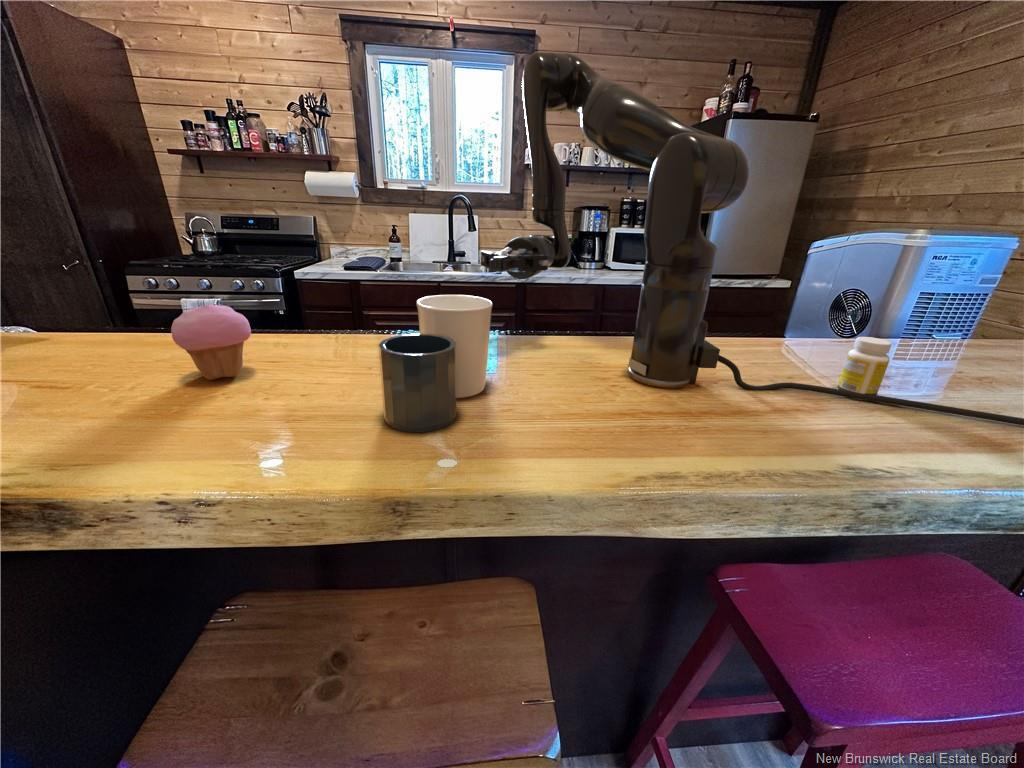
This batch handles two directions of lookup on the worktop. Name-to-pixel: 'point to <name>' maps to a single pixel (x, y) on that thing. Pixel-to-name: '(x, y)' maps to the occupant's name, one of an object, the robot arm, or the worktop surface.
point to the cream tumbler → (461, 334)
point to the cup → (418, 381)
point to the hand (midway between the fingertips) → (496, 264)
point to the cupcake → (213, 339)
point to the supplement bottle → (865, 366)
